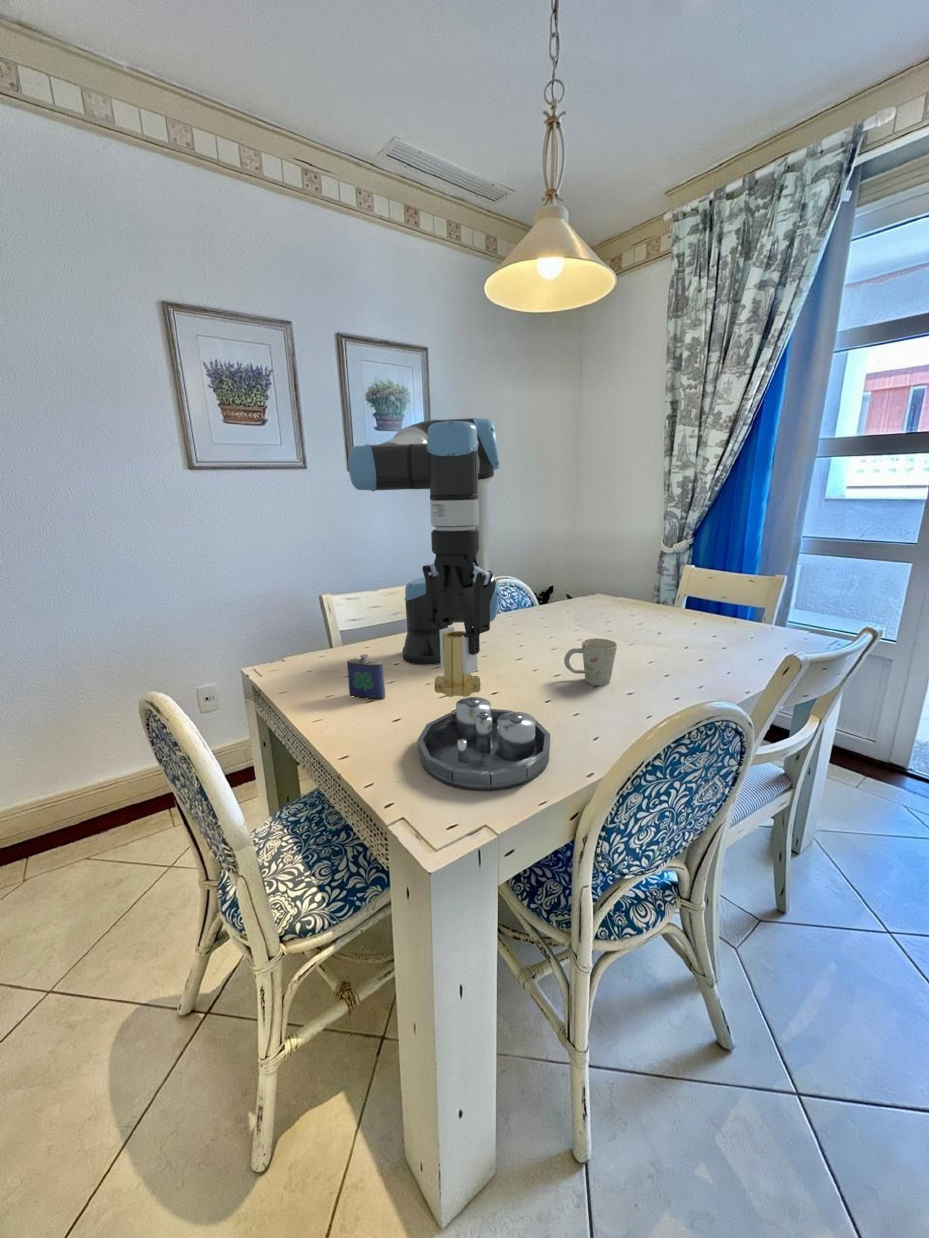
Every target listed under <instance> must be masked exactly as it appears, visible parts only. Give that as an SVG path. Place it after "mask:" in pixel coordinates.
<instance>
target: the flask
mask: <svg viewBox="0 0 929 1238" xmlns="http://www.w3.org/2000/svg"><path fill="white" fill-rule="evenodd" d="M368 656H369V655H368V654H366V653H364V654H360V655H359V657H360V659H359V658H356V657H354V658H351V659H348V660H347V662H346V663H347V665H346V666H347V676H348V691H349V697H350V696H354V697H359V698H364V699H365V698H368V699H367V700H375V699H378V700H384V699H385V698H386V687H385V676H384V675H385V674H384V663H383V661H380V660H379V661H378V660H368ZM359 698H358V699H359Z"/></svg>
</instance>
